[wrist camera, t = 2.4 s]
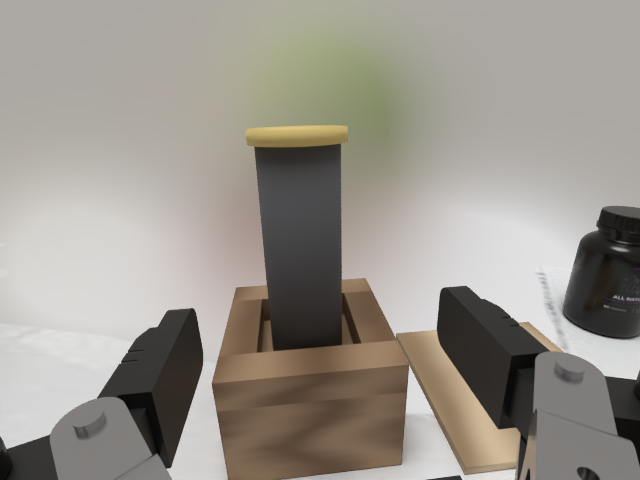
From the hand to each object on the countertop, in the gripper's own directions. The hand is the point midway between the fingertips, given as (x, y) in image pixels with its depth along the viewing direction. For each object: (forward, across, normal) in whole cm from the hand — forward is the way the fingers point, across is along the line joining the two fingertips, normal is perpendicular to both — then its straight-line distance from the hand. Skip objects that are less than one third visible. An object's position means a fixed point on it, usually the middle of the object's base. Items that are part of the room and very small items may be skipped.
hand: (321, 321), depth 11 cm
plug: (+11, 0, +9) cm, 15 cm away
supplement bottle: (+19, -31, +16) cm, 40 cm away
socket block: (+12, 0, +15) cm, 19 cm away
